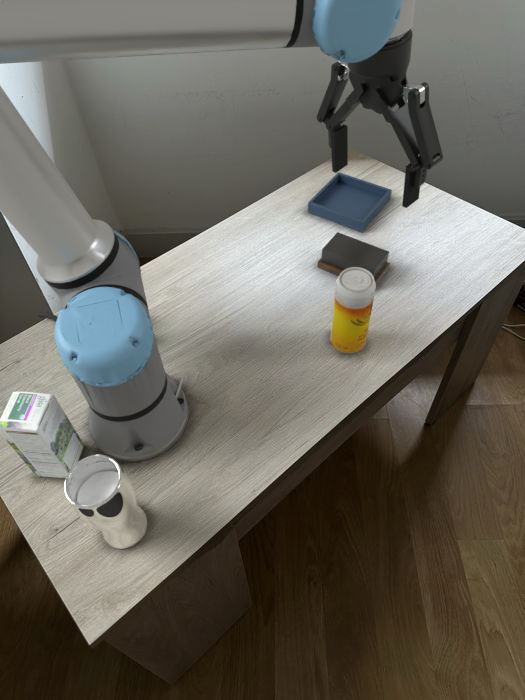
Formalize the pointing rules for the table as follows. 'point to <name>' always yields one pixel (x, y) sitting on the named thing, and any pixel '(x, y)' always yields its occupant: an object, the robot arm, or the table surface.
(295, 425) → the table surface
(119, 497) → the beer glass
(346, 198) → the tray
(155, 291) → the table surface
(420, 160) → the robot arm
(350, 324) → the beer can
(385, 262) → the sharpening stone
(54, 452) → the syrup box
